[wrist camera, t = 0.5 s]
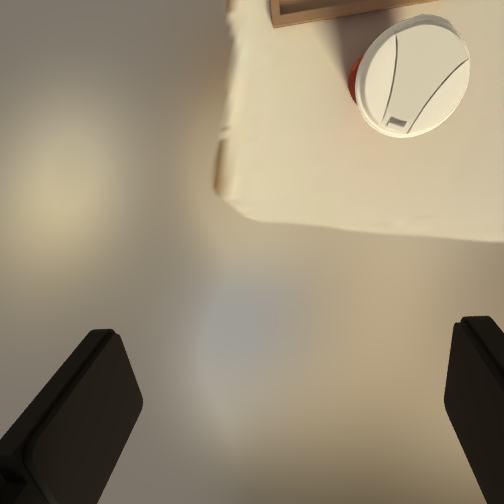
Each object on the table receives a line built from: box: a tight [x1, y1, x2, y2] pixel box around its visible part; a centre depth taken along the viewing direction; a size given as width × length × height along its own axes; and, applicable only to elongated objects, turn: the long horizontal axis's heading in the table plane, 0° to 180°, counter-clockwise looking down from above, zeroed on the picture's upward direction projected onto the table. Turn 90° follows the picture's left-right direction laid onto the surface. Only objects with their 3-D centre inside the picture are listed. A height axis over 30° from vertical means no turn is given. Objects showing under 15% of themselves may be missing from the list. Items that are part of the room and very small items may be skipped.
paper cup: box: [349, 14, 470, 138], centre depth 30 cm, size 8×8×14 cm
